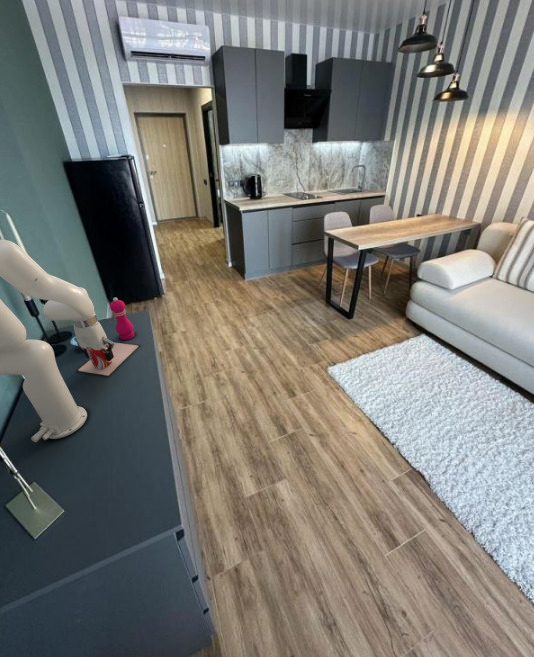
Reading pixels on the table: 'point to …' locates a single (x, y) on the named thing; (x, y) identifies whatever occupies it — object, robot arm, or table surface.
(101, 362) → the soda can
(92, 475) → the table surface
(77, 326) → the robot arm
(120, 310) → the pepper mill
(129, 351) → the pink rectangular board
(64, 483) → the table surface
